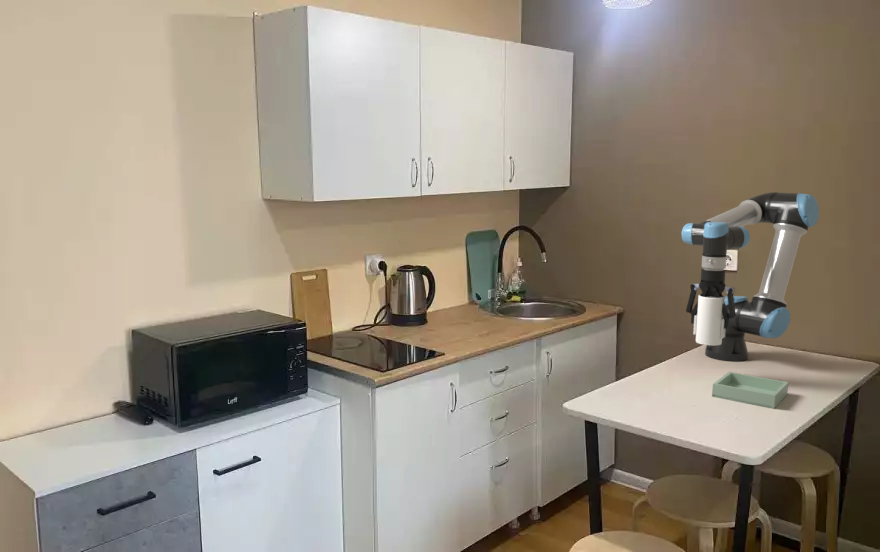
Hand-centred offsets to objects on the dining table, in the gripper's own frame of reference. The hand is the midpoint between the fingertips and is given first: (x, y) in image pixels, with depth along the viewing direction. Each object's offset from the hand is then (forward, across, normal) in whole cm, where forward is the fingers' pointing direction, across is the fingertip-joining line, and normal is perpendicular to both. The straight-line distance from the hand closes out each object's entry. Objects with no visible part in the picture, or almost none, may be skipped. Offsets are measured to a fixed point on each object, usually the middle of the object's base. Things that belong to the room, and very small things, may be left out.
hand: (708, 335), depth 243 cm
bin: (+15, +17, -11) cm, 25 cm away
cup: (+3, 0, 0) cm, 3 cm away
